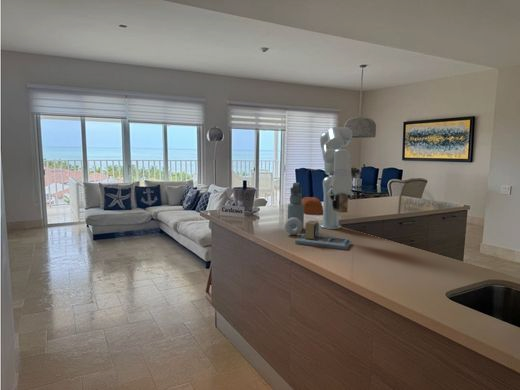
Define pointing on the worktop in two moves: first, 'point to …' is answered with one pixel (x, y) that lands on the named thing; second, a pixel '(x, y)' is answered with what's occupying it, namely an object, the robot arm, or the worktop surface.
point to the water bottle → (296, 205)
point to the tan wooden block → (341, 203)
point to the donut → (297, 229)
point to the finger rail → (321, 238)
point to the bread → (312, 205)
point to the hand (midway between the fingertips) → (339, 207)
